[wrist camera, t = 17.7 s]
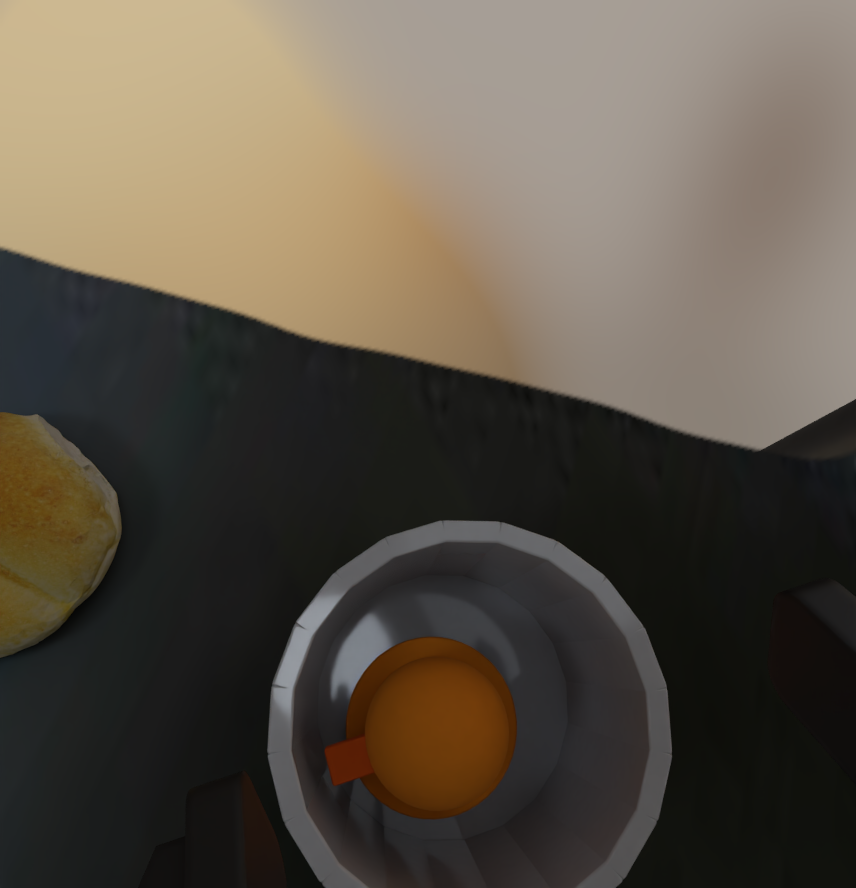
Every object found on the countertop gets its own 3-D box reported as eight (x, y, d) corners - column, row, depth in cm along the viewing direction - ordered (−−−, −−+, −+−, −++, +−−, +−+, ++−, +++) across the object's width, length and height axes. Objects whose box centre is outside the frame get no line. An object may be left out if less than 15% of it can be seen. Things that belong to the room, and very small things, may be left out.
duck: (469, 621, 28) (507, 607, 20) (514, 765, 27) (573, 811, 19) (320, 668, 27) (297, 673, 19) (359, 819, 26) (351, 891, 18)
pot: (525, 528, 29) (588, 475, 21) (619, 797, 27) (734, 863, 18) (271, 607, 28) (225, 584, 19) (346, 898, 25) (331, 1022, 17)
